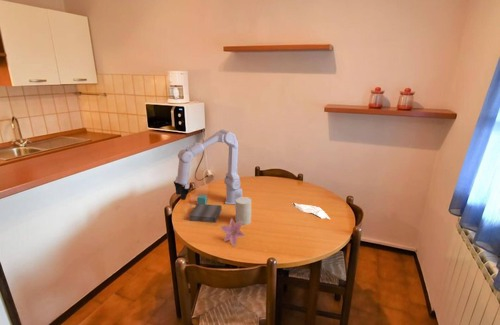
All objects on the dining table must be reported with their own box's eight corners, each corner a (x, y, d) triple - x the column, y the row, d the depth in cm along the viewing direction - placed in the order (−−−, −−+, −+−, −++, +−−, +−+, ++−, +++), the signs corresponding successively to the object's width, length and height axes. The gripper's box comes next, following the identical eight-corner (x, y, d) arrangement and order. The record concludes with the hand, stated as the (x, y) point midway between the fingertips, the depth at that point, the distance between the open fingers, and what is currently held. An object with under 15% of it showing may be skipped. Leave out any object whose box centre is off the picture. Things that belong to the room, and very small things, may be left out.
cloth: (337, 218, 151) (338, 214, 151) (319, 224, 144) (320, 220, 144) (304, 200, 172) (305, 197, 172) (287, 205, 165) (287, 202, 164)
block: (207, 202, 166) (206, 195, 164) (205, 206, 161) (204, 198, 160) (199, 202, 166) (199, 194, 165) (197, 205, 162) (197, 197, 160)
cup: (239, 226, 140) (239, 205, 137) (233, 219, 147) (233, 198, 143) (253, 222, 144) (254, 202, 140) (246, 216, 151) (246, 195, 147)
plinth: (221, 210, 157) (221, 205, 156) (215, 222, 143) (215, 217, 142) (197, 208, 158) (197, 203, 157) (189, 220, 145) (189, 215, 144)
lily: (220, 235, 134) (214, 225, 127) (241, 222, 137) (236, 211, 130) (231, 254, 126) (226, 244, 119) (253, 240, 129) (249, 230, 122)
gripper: (171, 168, 148) (169, 192, 151) (180, 177, 137) (177, 202, 140) (184, 168, 152) (181, 191, 155) (194, 176, 141) (191, 201, 144)
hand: (180, 197), depth 148 cm, fingers open, 7 cm apart
